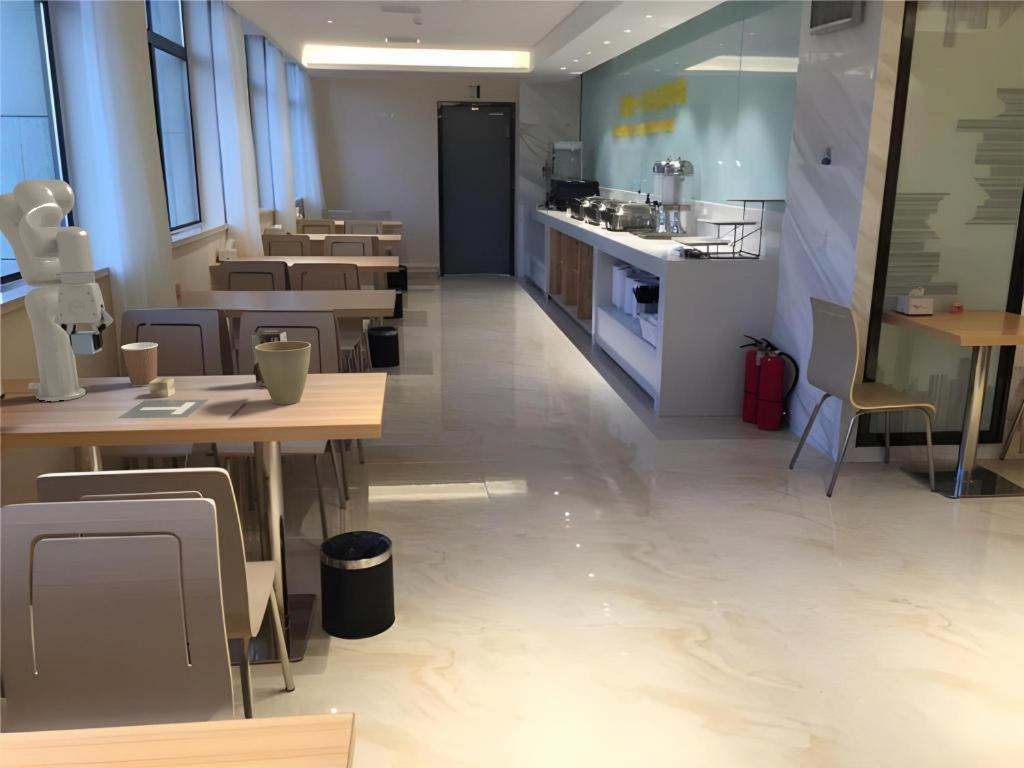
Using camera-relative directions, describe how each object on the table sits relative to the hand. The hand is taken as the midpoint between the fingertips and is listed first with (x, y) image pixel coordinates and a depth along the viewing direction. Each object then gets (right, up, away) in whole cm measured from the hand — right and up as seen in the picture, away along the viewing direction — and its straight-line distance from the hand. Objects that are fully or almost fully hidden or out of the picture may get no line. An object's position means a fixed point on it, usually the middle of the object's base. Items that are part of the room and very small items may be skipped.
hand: (87, 348), depth 216 cm
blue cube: (0, -1, 0) cm, 1 cm away
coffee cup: (-3, -10, +39) cm, 40 cm away
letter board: (+16, -16, +9) cm, 25 cm away
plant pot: (+47, -14, +18) cm, 52 cm away
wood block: (+10, -13, +24) cm, 29 cm away
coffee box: (+37, -9, +38) cm, 54 cm away
